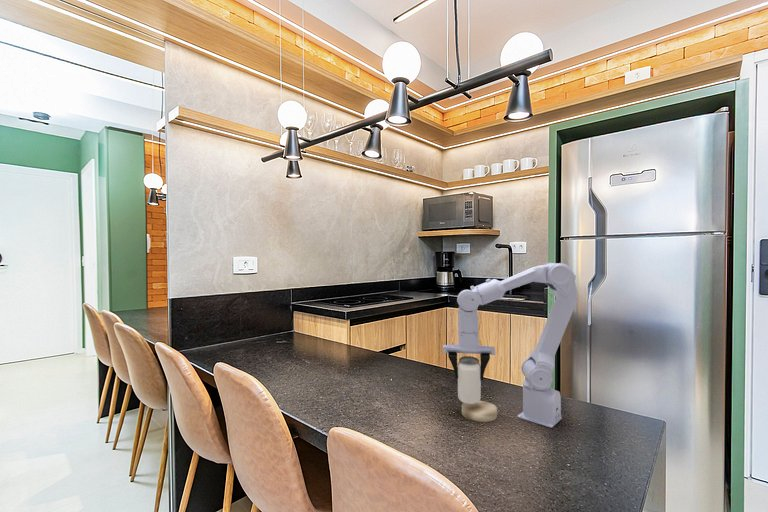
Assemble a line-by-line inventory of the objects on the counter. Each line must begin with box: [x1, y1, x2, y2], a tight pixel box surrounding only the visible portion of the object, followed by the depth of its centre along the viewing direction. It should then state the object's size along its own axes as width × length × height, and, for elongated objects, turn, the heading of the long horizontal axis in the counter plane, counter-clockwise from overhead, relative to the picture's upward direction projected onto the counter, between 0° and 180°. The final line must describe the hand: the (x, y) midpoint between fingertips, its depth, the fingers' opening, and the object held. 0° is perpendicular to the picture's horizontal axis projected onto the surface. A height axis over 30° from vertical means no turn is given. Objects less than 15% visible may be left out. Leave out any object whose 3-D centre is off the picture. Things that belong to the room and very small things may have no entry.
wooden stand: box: [461, 400, 498, 423], centre depth 105 cm, size 10×10×2 cm
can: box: [457, 355, 482, 404], centre depth 106 cm, size 6×6×12 cm
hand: (469, 378), depth 106 cm, fingers closed on can, 6 cm apart
